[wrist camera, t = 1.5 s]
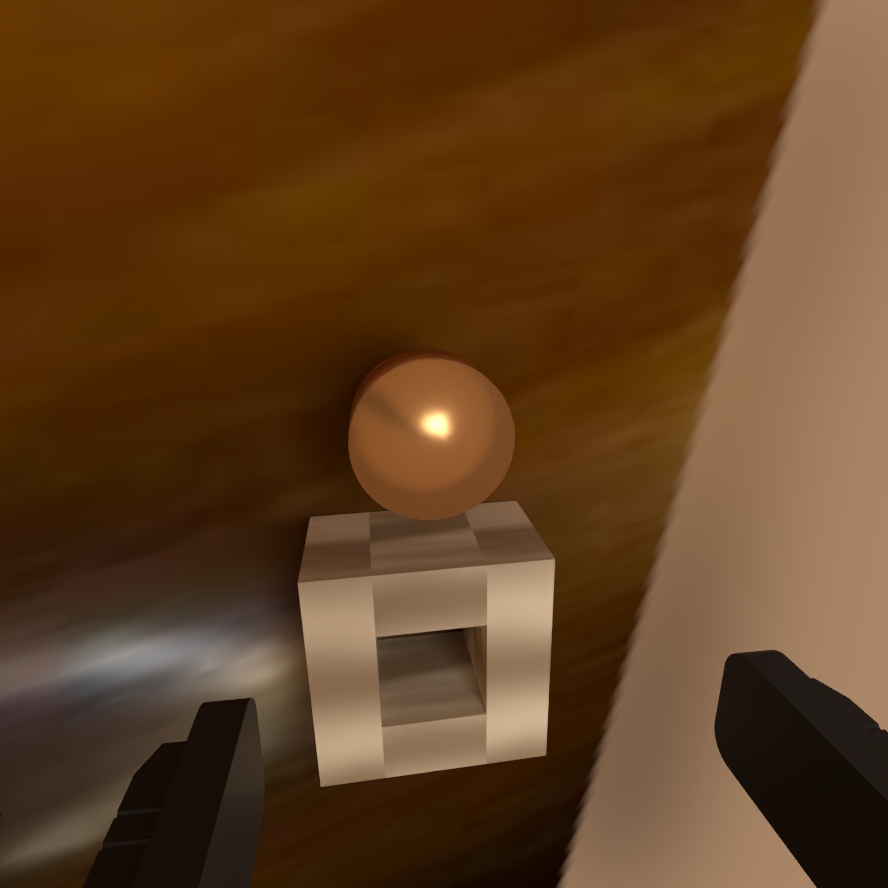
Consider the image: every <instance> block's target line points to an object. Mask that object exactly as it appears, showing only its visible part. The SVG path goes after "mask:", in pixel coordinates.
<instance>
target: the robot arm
mask: <svg viewBox="0 0 888 888" xmlns="http://www.w3.org/2000/svg"><path fill="white" fill-rule="evenodd" d="M714 728H715V737H716V742H717V746H718V749H719V751H720V754H721V756H722V758H723V760H724V762H725V763H726V765H727V766H728V767H729V769H730V771H731V772H732V773H733V775H734V776H735V777H736V779H737V780H738V781H739V783H740V784H741V786H742V787H743V788H744V789H745V791H746V792H747V794H748V795H749V796H750V797H751V799H752V800H753V802H754V803H755V804H756V806H757V807H758V809H759V810H760V811H761V813H762V814H763V815H764V817H765V818H766V819H767V821H768V822H769V823H770V825H771V826H772V828H773V829H774V830H775V832H776V833H777V834H778V836H779V837H780V838H781V840H782V841H783V842H784V844H785V845H786V846H787V848H788V849H789V851H790V852H791V853H792V854H793V856H794V857H795V859H796V860H797V861H798V863H799V864H800V866H801V867H802V868H803V870H804V871H805V872H806V874H807V875H808V876H809V877H810V879H811V880H812V882H813V883H814V884H815V886H816V887H817V888H888V732H887V731H886V730H881V729H880V728H879V724H878V723H877V722H875V721H874V720H873V719H872V718H871V717H870V716H869V715H867V714H866V713H865V712H864V711H863V710H862V709H861V708H859V707H858V706H857V705H856V704H855V703H854V702H852V701H851V700H850V699H849V698H847V697H846V696H844V695H842V694H840V693H839V692H837V691H835V690H833V689H832V688H830V687H828V686H826V685H825V684H823V683H821V682H819V681H818V680H816V679H814V678H809V677H808V676H807V675H806V674H805V673H804V672H803V671H802V670H800V669H799V668H798V667H797V666H796V665H795V664H794V663H793V662H792V661H791V660H790V659H788V658H787V657H786V656H785V655H784V654H782V653H781V652H779V651H776V650H766V651H755V652H745V653H735V654H731V655H730V656H729V657H728V658H727V660H726V662H725V666H724V672H723V678H722V684H721V690H720V695H719V701H718V707H717V713H716V718H715V727H714ZM263 806H264V769H263V761H262V752H261V744H260V735H259V727H258V719H257V710H256V704H255V701H254V699H253V698H245V699H234V700H224V701H213V702H204V703H203V704H202V705H201V706H200V708H199V710H198V712H197V715H196V718H195V720H194V723H193V725H192V728H191V731H190V733H189V736H188V739H187V741H183V742H173V743H164V744H162V745H161V746H160V747H159V748H158V749H157V750H156V751H155V752H154V753H153V755H152V756H151V757H150V758H149V759H148V760H147V761H146V762H145V763H144V764H143V766H142V767H141V768H140V769H139V770H138V771H137V772H136V773H135V774H134V776H133V778H132V780H131V783H130V785H129V787H128V789H127V791H126V793H125V796H124V798H123V800H122V802H121V804H120V807H119V809H118V811H117V812H118V813H117V818H115V819H114V820H113V822H112V824H111V826H110V828H109V831H108V833H107V835H106V837H105V839H104V842H103V848H102V851H99V853H98V855H97V857H96V859H95V861H94V863H93V866H92V868H91V870H90V872H89V874H88V877H87V879H86V881H85V883H84V885H83V888H249V886H250V881H251V875H252V870H253V865H254V859H255V854H256V849H257V843H258V838H259V832H260V827H261V821H262V815H263Z"/></svg>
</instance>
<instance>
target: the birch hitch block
mask: <svg viewBox="0 0 888 888" xmlns="http://www.w3.org/2000/svg"><path fill="white" fill-rule="evenodd" d="M554 570H555V558H554V557H553V555H552V554H551V552H550V551H549V549H548V548H547V546H546V545H545V543H544V542H543V540H542V539H541V537H540V536H539V534H538V533H537V531H536V530H535V528H534V527H533V525H532V524H531V522H530V521H529V519H528V518H527V516H526V515H525V513H524V512H523V510H522V509H521V507H520V506H519V504H518V503H517V501H507V502H494V503H482V504H478V505H477V506H475V507H474V508H472V509H470V510H468V511H466V512H464V513H462V514H459V515H457V516H453V517H449V518H446V519H439V520H418V519H412V518H407V517H404V516H401V515H398V514H395V513H393V512H391V511H379V512H366V513H353V514H340V515H328V516H315V517H310V521H309V526H308V531H307V537H306V542H305V547H304V552H303V558H302V563H301V568H300V573H299V579H298V590H299V599H300V608H301V617H302V625H303V634H304V643H305V652H306V660H307V669H308V678H309V687H310V696H311V704H312V713H313V722H314V731H315V739H316V748H317V757H318V766H319V774H320V783H321V787H323V786H330V785H337V784H345V783H352V782H359V781H366V780H373V779H380V778H387V777H395V776H402V775H409V774H416V773H423V772H430V771H438V770H445V769H452V768H459V767H466V766H473V765H481V764H488V763H495V762H502V761H509V760H516V759H523V758H531V757H538V756H545V755H546V742H547V721H548V699H549V678H550V656H551V635H552V613H553V592H554ZM457 628H463V631H457V632H448V633H439V634H429V635H420V636H411V637H401V638H392V639H383V640H377V637H382V636H391V635H400V634H410V633H419V632H428V631H438V630H447V629H457Z"/></svg>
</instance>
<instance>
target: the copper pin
mask: <svg viewBox="0 0 888 888" xmlns="http://www.w3.org/2000/svg"><path fill="white" fill-rule="evenodd" d="M348 441H349V456H350V461H351V464H352V468H353V471H354V473H355V475H356V477H357V479H358V481H359V483H360V484H361V486H362V487H363V489H364V490H365V491H366V492H367V493H368V495H369V496H370V497H371V498H373V499H374V500H375V501H376V502H377V503H378V504H380V505H381V506H383V507H384V508H386V509H387V510H389V511H391V512H393V513H395V514H398V515H401V516H404V517H407V518H412V519H418V520H439V519H446V518H449V517H453V516H457V515H459V514H462V513H464V512H466V511H468V510H470V509H472V508H474V507H475V506H477V505H478V504H480V503H481V502H483V501H484V500H485V499H486V498H487V497H488V496H489V495H491V493H492V492H493V491H494V490H495V489H496V488H497V487H498V485H499V484H500V482H501V481H502V479H503V478H504V476H505V474H506V472H507V470H508V468H509V465H510V463H511V460H512V456H513V451H514V444H515V429H514V423H513V418H512V415H511V412H510V409H509V407H508V405H507V403H506V400H505V399H504V397H503V396H502V394H501V393H500V391H499V390H498V389H497V388H496V387H495V385H494V384H493V383H492V382H491V381H490V380H488V379H487V378H486V377H485V376H484V375H483V374H482V373H481V372H479V371H478V370H477V369H476V368H475V367H474V366H473V365H471V364H470V363H469V362H467V361H466V360H464V359H463V358H461V357H459V356H457V355H455V354H453V353H450V352H446V351H443V350H438V349H426V348H421V349H412V350H408V351H404V352H401V353H398V354H396V355H393V356H391V357H389V358H388V359H386V360H384V361H383V362H381V363H380V364H378V365H377V366H376V367H375V368H374V369H373V370H372V371H371V372H370V373H369V374H368V375H367V376H366V377H365V379H364V380H363V381H362V383H361V384H360V386H359V388H358V389H357V392H356V394H355V396H354V399H353V402H352V406H351V411H350V421H349V438H348Z"/></svg>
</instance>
